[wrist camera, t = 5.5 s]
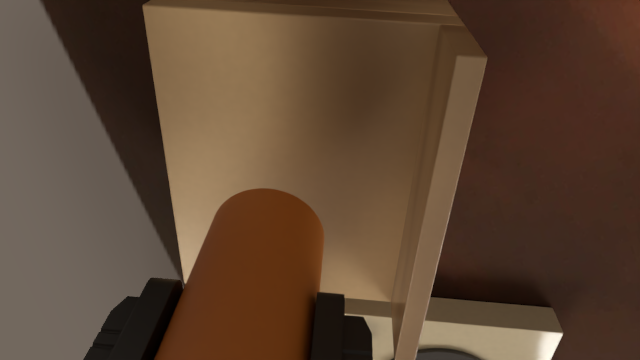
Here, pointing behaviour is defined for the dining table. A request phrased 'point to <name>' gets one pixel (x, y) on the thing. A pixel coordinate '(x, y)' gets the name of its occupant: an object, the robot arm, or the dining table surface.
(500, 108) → the dining table surface
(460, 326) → the hot plate
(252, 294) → the spice bottle
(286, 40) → the shelf
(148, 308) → the robot arm
